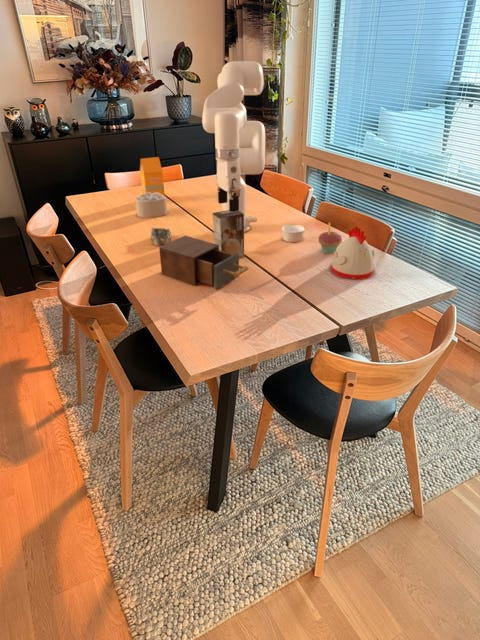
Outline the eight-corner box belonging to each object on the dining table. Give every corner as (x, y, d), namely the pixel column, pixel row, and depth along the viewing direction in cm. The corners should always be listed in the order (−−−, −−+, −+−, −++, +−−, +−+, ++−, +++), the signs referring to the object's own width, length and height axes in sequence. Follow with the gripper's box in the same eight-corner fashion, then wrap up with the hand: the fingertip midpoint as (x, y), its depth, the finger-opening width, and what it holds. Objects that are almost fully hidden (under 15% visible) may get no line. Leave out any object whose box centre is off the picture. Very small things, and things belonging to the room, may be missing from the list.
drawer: (253, 280, 146) (253, 258, 142) (231, 294, 138) (231, 271, 134) (206, 266, 156) (205, 244, 152) (184, 278, 148) (182, 256, 144)
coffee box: (236, 250, 169) (236, 208, 161) (244, 257, 164) (244, 213, 156) (214, 255, 165) (212, 212, 157) (221, 262, 161) (220, 217, 152)
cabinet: (219, 271, 154) (218, 244, 149) (195, 285, 146) (193, 257, 140) (186, 261, 161) (185, 235, 156) (161, 274, 153) (159, 247, 148)
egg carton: (171, 245, 174) (170, 235, 172) (151, 246, 173) (150, 236, 171) (171, 234, 183) (170, 225, 181) (152, 235, 182) (151, 226, 180)
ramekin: (276, 239, 179) (277, 228, 176) (290, 233, 184) (291, 222, 182) (294, 245, 173) (295, 234, 171) (308, 238, 179) (309, 227, 177)
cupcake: (335, 257, 163) (338, 225, 157) (313, 252, 167) (315, 220, 161) (343, 249, 170) (347, 218, 163) (322, 244, 173) (325, 214, 167)
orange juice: (143, 199, 223) (138, 157, 212) (160, 197, 226) (156, 155, 216) (147, 204, 217) (142, 160, 206) (165, 201, 220) (161, 158, 209)
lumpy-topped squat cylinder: (169, 214, 204) (168, 194, 200) (142, 219, 199) (139, 199, 194) (160, 207, 212) (159, 189, 207) (133, 212, 206) (131, 193, 202)
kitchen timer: (346, 282, 147) (352, 238, 139) (323, 265, 158) (327, 223, 150) (381, 274, 152) (389, 231, 144) (356, 259, 162) (362, 218, 154)
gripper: (249, 158, 141) (249, 212, 150) (227, 148, 154) (228, 198, 163) (227, 160, 138) (228, 215, 147) (206, 150, 152) (208, 201, 160)
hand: (228, 206), depth 155 cm, fingers open, 9 cm apart
